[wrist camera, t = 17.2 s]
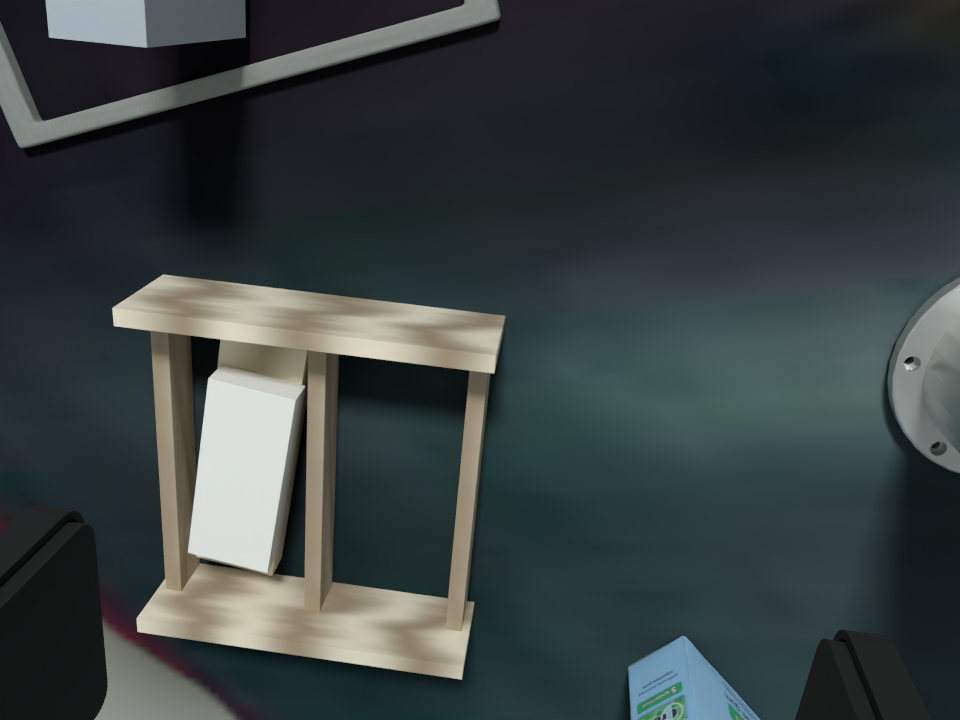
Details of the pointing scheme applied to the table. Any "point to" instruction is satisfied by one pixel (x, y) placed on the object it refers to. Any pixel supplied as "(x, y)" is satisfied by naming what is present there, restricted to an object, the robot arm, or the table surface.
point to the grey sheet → (146, 21)
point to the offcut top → (244, 467)
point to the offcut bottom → (276, 365)
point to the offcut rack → (307, 474)
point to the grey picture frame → (221, 75)
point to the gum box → (682, 687)
